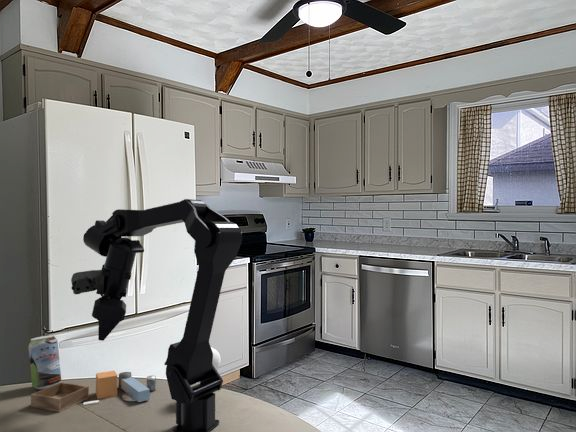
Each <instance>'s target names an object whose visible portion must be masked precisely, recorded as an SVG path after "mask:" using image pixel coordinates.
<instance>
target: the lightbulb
mask: <svg viewBox="0 0 576 432" xmlns="http://www.w3.org/2000/svg"><path fill="white" fill-rule="evenodd" d="M211 349H212V352H213V361H212V364H213V366H214V367H215V369H216V370H217V371H218V370H219V369H220V366H221V363H222V360H221V359H222V357H221V355H220V353H219V351H218V350H217V349H215V348H214V347H211Z"/></svg>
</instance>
